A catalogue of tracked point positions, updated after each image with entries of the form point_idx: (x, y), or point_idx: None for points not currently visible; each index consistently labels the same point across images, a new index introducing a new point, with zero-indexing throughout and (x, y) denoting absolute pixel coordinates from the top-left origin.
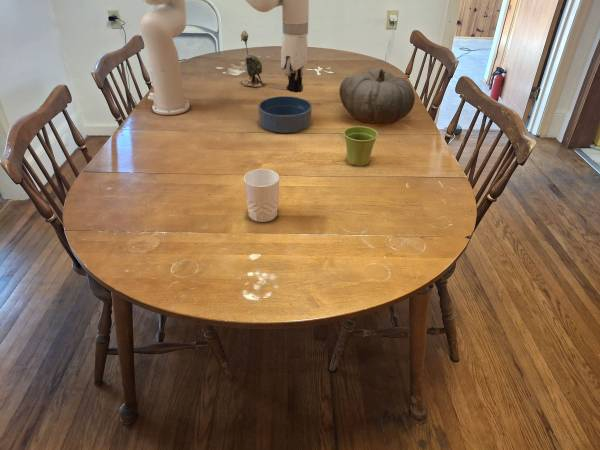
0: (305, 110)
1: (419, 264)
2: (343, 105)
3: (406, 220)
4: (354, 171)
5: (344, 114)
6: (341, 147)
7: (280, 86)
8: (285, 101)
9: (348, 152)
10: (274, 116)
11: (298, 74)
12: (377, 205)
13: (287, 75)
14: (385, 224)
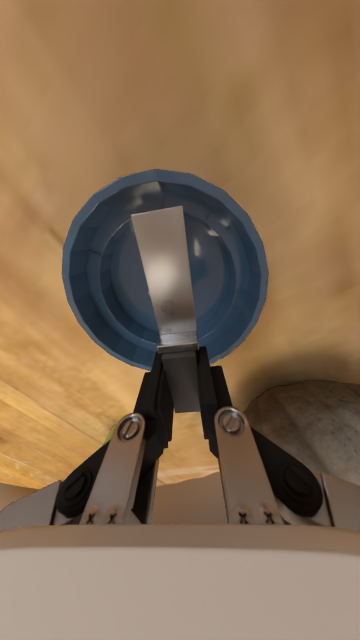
0: (223, 325)
1: (34, 484)
2: (282, 391)
3: (68, 473)
4: (101, 434)
5: (288, 364)
6: None
7: (185, 282)
8: (246, 243)
9: (103, 444)
10: (77, 315)
11: (215, 452)
12: (66, 459)
13: (22, 509)
14: (49, 467)
